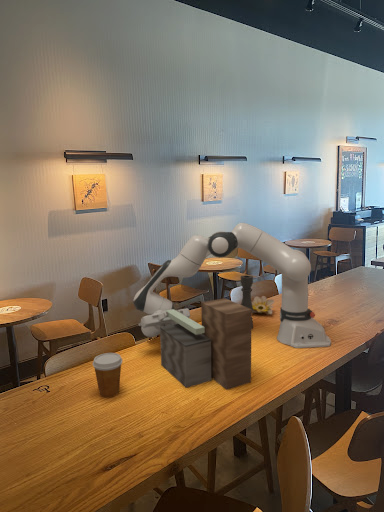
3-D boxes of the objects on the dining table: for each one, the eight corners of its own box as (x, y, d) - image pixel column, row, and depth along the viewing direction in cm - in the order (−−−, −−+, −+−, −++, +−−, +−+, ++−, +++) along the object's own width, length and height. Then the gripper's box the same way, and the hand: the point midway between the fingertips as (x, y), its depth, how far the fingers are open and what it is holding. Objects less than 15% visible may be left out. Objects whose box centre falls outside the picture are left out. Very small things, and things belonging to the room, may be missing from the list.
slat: (165, 315, 151) (165, 310, 150) (173, 313, 152) (173, 309, 152) (195, 334, 130) (195, 329, 130) (204, 332, 132) (204, 327, 131)
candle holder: (242, 330, 180) (243, 278, 176) (237, 326, 186) (238, 275, 182) (255, 329, 182) (255, 277, 178) (249, 324, 188) (250, 274, 184)
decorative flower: (242, 313, 201) (244, 294, 201) (246, 311, 211) (248, 293, 212) (271, 317, 196) (273, 298, 196) (273, 316, 206) (276, 297, 207)
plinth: (202, 370, 141) (201, 302, 136) (224, 364, 145) (224, 298, 141) (226, 389, 127) (226, 314, 123) (250, 382, 132) (251, 309, 127)
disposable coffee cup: (111, 382, 133) (109, 349, 131) (129, 391, 127) (128, 357, 125) (88, 393, 126) (86, 359, 124) (106, 403, 120) (104, 367, 118)
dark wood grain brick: (161, 365, 146) (160, 327, 143) (184, 359, 151) (183, 322, 148) (186, 387, 129) (185, 345, 126) (211, 380, 133) (211, 339, 131)
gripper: (135, 318, 156) (145, 309, 145) (179, 310, 166) (193, 301, 155) (138, 333, 155) (149, 325, 143) (183, 324, 164) (197, 316, 153)
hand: (172, 313), depth 149 cm, fingers closed on slat, 3 cm apart
